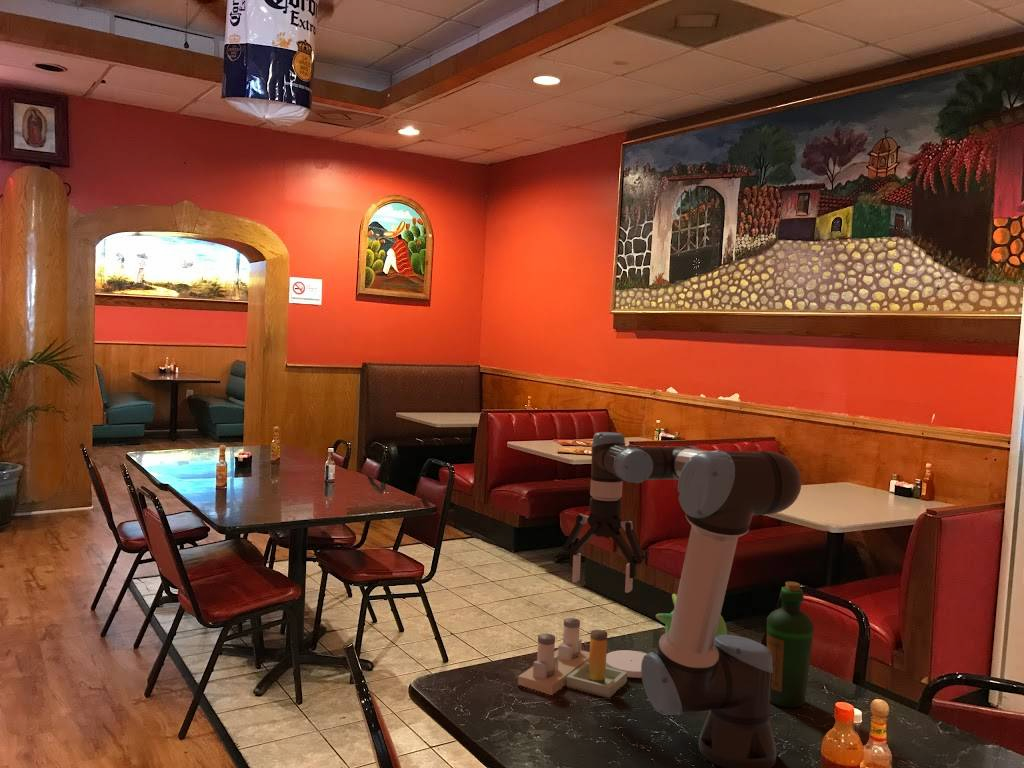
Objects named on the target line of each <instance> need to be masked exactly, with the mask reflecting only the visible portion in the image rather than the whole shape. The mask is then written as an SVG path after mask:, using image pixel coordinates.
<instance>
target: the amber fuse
mask: <svg viewBox="0 0 1024 768" xmlns="http://www.w3.org/2000/svg"><path fill="white" fill-rule="evenodd" d="M589 639H590V641H589V652H590V657H589V677H588V680H589V681H593V682H597V683H601V684H605V673H606V654H607V652H608V650H607V648H608V631H605V630H603V629H594V630H591V631H590V638H589Z"/></svg>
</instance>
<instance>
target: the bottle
mask: <svg viewBox="0 0 1024 768" xmlns="http://www.w3.org/2000/svg"><path fill="white" fill-rule="evenodd" d="M800 585H801V584H800V583H799V582H796V581H785V586H782V587H781V589H780V593H779V599H781V607H780V608H777V609H775V610H773V611H771V612H770V613H769V615H768V616H767V617H766V647H767V648H768V649H769V650H770V652H771V654H772V668H773V673H772V682H771V696H770V703H772V704H774V705H776V706H778V707H781V708H787V709H794V708H795V709H796V708H800V707H802V706H803V705H805V703H806V694H807V685H808V679H809V672H810V671H809V670H810V663H811V653H812V646H813V640H814V639H813V637H814V630H815V626H814V623H813V621H812V619H811V617H810V616H809V615H808V614H806V613H805V612H804V611H802V610H801V605H802V603H803V602H804V601H805V600H804V593H803V589H802V588H800Z"/></svg>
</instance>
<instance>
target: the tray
mask: <svg viewBox="0 0 1024 768" xmlns="http://www.w3.org/2000/svg"><path fill="white" fill-rule="evenodd" d="M588 677H589V663H588V662H585V663H584V664H582V665H581V666H580V667H578V668H577V669H576V670H575V671H573V672H572V673H571V674H569V675H568V676H567V678H566V685H565V687H566V686H567V687H566V688H569V687H570V688H569V689H572V688H573V690H576V689H577V690H576V691H580V692H584V693H588V694H591V695H594V696H595V695H596V696H599V697H602V698H606V699H610V698H611V697H612V696H613V695H614V694H616V691H617V690H618V689H619V690H620V689H621V688H623V686H624V685H626V684H627V683H626V682H628V677H627V672H624V671H620V670H616V669H612V668H608V667H606V673H605V684H601V683H597V682H593V681H589V680H588ZM620 687H621V688H620ZM619 690H618V691H619ZM618 691H617V692H618Z"/></svg>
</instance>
